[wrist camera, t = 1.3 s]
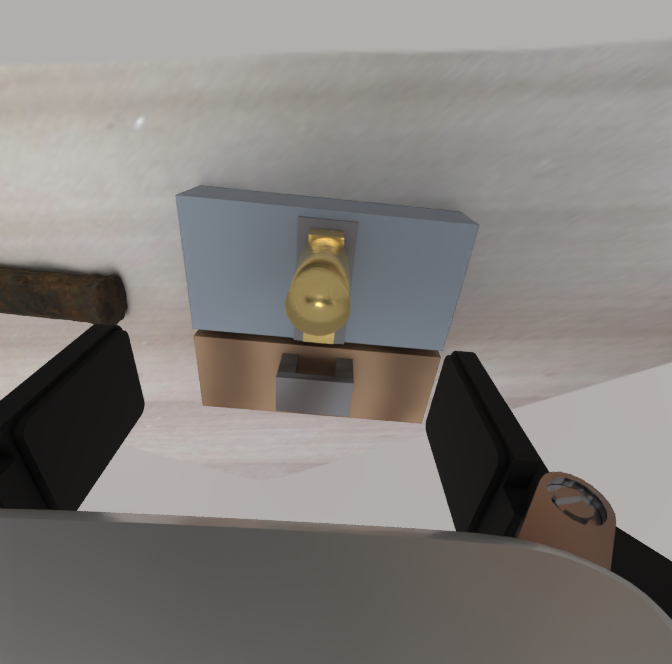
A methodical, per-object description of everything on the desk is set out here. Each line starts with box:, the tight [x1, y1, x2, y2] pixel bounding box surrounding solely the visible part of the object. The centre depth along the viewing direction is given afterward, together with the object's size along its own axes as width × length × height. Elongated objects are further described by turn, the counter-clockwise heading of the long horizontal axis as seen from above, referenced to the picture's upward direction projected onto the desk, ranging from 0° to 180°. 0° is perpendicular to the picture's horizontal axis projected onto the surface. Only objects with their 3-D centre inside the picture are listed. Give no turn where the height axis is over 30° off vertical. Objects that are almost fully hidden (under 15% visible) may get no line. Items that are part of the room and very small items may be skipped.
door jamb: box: [194, 329, 441, 424], centre depth 28 cm, size 18×7×7 cm, turn 85°
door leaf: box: [176, 186, 479, 351], centre depth 25 cm, size 18×9×4 cm, turn 85°
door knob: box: [285, 228, 351, 344], centre depth 19 cm, size 3×7×7 cm, turn 175°
